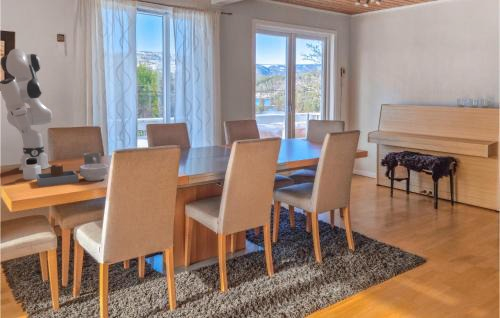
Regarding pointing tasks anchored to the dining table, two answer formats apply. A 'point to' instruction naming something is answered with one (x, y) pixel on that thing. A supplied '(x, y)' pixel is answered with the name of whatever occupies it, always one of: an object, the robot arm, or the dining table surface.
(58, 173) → the sleeve
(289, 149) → the dining table surface
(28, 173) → the medicine bottle
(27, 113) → the robot arm
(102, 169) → the paper bowls
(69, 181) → the tray
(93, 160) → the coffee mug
